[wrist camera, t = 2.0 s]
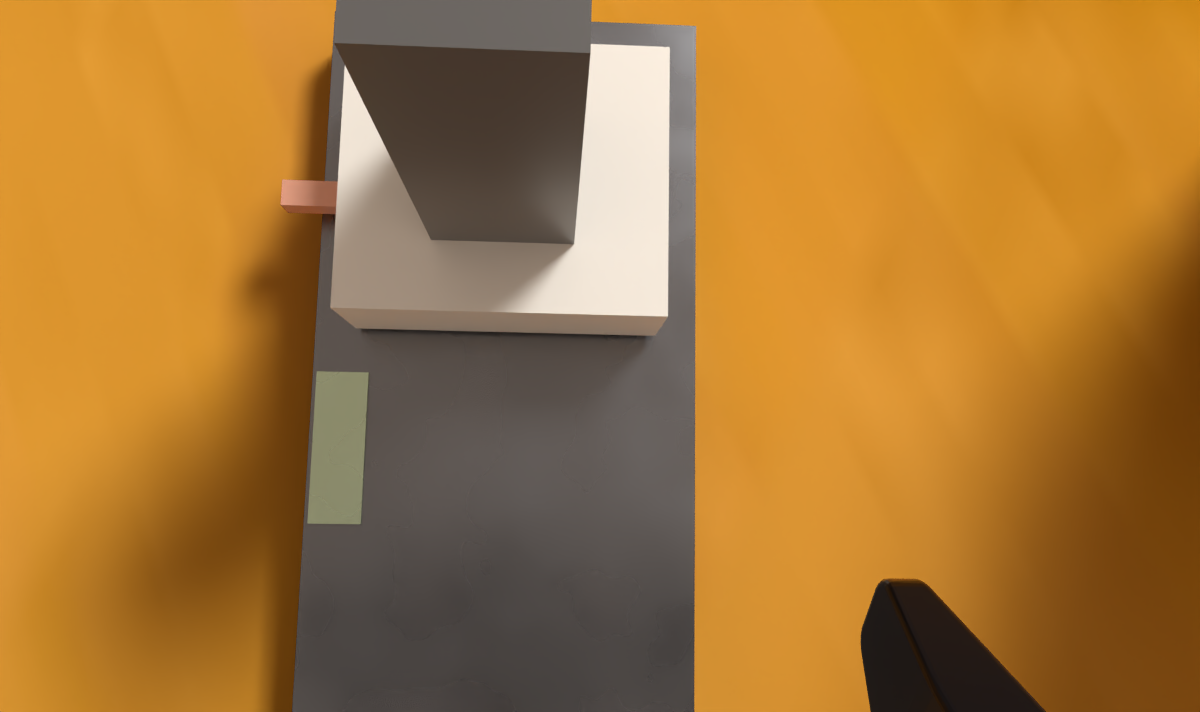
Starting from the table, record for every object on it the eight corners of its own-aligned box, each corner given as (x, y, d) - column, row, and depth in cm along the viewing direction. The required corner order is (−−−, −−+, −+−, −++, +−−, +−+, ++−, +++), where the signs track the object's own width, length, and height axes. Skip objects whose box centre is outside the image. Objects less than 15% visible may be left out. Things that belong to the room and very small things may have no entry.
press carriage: (654, 336, 22) (758, 180, 11) (281, 326, 22) (-7, 155, 10) (656, 95, 23) (756, -278, 12) (297, 81, 22) (48, -317, 11)
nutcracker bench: (683, 937, 22) (719, 1059, 17) (295, 940, 21) (223, 1065, 17) (687, 53, 25) (718, -47, 20) (348, 40, 24) (300, -66, 20)
